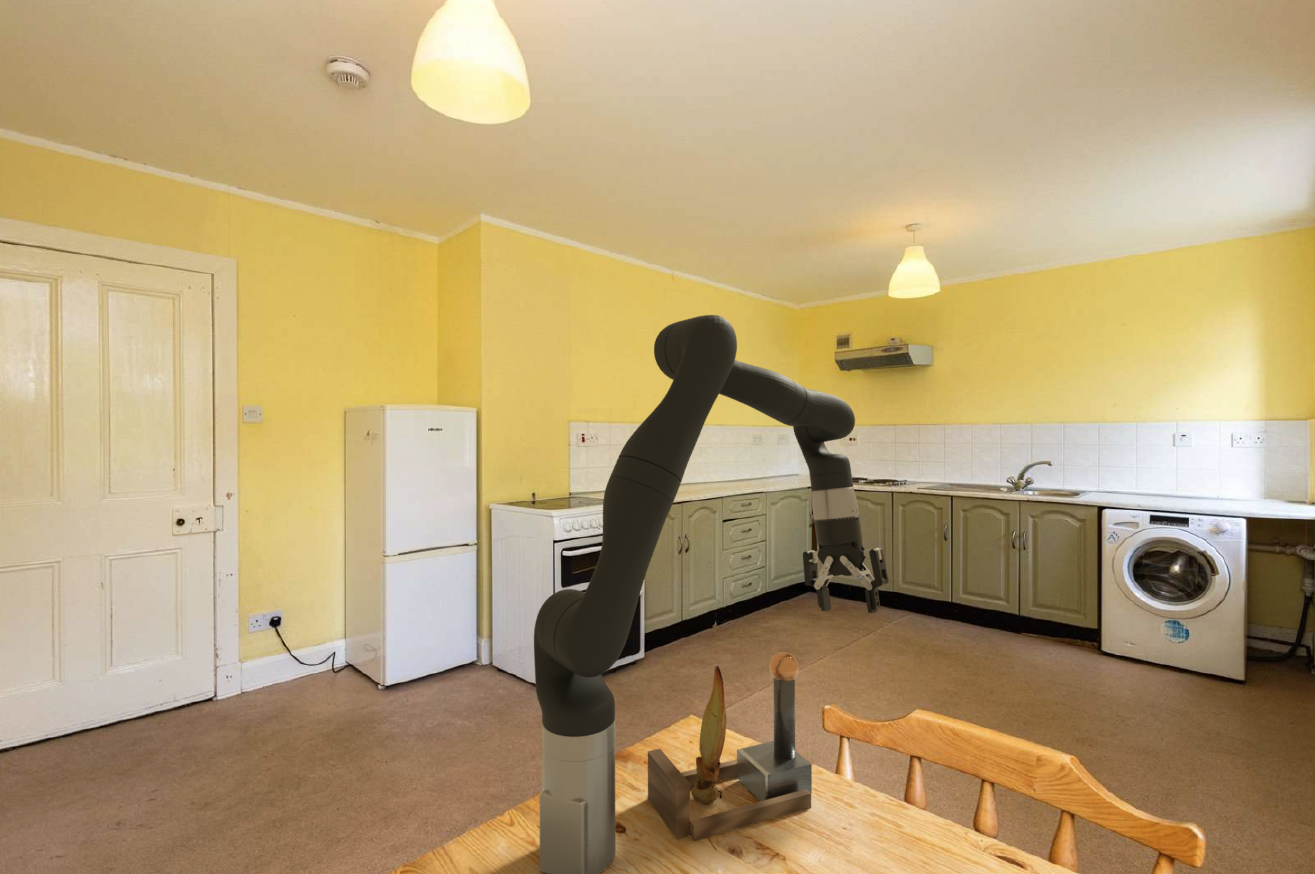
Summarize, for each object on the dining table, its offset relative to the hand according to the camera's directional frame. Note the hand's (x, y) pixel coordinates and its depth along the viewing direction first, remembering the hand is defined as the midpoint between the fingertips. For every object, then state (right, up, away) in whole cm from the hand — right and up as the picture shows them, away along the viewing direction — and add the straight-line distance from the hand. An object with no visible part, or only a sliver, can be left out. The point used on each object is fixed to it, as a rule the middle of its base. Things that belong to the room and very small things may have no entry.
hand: (849, 611), depth 105 cm
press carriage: (-15, -23, -11) cm, 30 cm away
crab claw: (-25, -24, -15) cm, 38 cm away
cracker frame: (-22, -24, -14) cm, 35 cm away
